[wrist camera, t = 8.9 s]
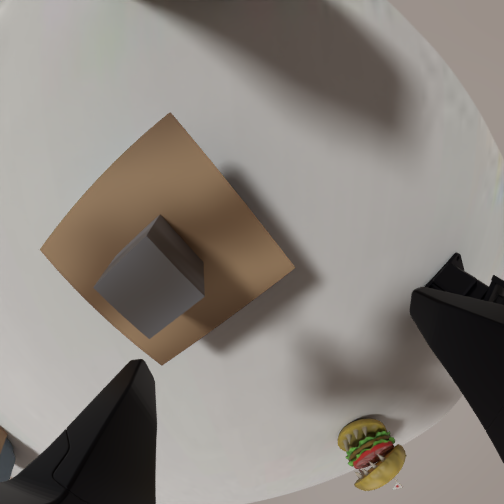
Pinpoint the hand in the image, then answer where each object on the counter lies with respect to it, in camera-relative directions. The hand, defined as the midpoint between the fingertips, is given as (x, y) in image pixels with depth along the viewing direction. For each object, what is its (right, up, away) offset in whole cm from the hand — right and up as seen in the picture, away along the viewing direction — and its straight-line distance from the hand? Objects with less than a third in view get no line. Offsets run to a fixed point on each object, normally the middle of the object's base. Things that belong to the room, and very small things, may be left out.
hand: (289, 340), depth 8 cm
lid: (-6, +3, +6) cm, 9 cm away
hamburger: (+13, -21, +23) cm, 34 cm away
